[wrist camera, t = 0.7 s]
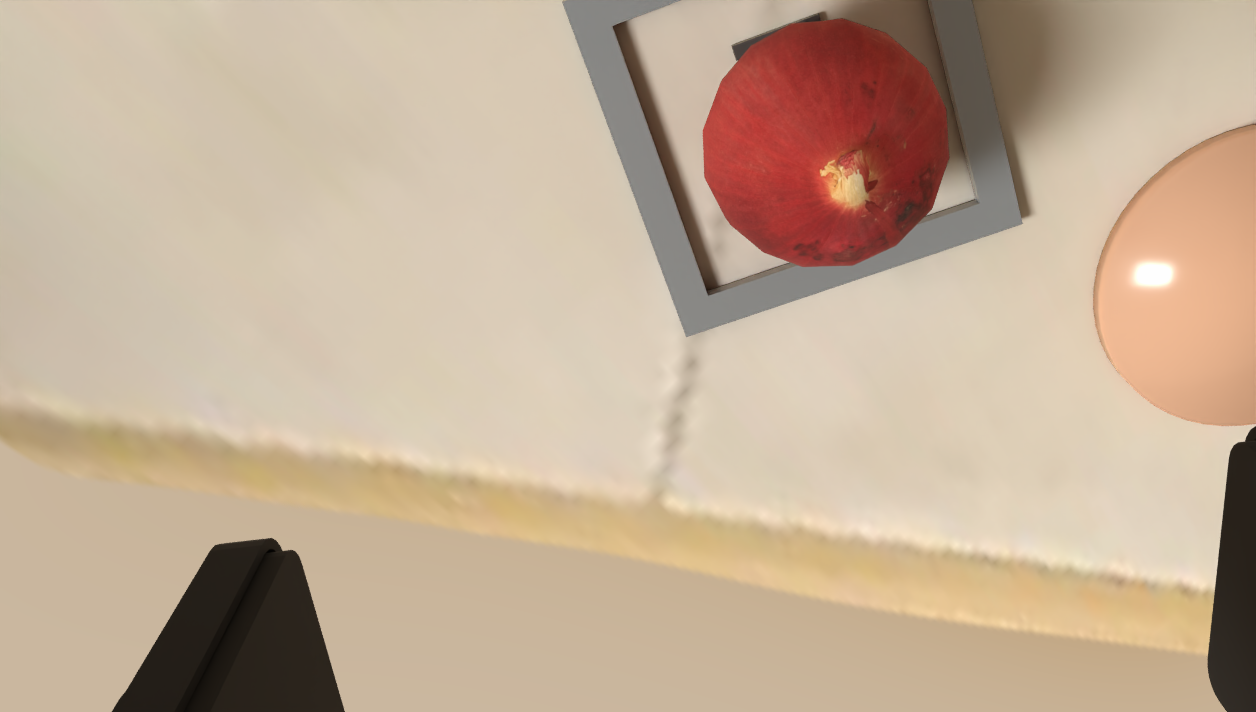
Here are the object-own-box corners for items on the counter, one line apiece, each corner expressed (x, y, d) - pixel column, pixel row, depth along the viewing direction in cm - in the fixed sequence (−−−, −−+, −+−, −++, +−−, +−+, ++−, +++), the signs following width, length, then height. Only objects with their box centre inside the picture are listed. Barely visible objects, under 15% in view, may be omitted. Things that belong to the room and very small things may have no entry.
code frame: (935, -143, 28) (939, -143, 27) (1017, 220, 31) (1022, 223, 31) (563, 0, 29) (562, 2, 29) (685, 331, 33) (686, 336, 32)
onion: (951, 101, 30) (1060, 174, 23) (806, 258, 32) (864, 373, 24) (794, -43, 28) (856, -15, 21) (651, 130, 30) (661, 211, 23)
